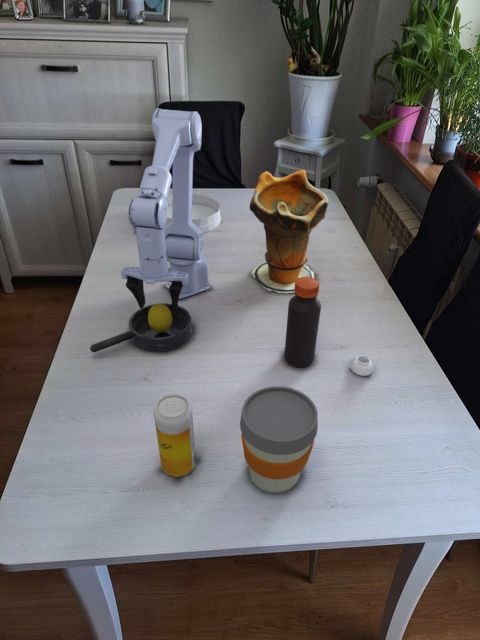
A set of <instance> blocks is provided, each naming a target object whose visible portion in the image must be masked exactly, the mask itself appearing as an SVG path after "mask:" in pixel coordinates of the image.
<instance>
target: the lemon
mask: <svg viewBox="0 0 480 640" xmlns="http://www.w3.org/2000/svg"><path fill="white" fill-rule="evenodd" d="M155 304H156V305H154V306H152V307H151V308H150V310H149V313H148V322H149V325H150V327H151V328H152V329H153V330H154V331H156V332H159V333H163V332H165V331H167V330H168V329H169V328H170V327H171V324H172V314H171V312H170V310H169V308H168V307H167V306H165V305H163V304H159V303H155Z"/></svg>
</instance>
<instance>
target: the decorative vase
mask: <svg viewBox="0 0 480 640" xmlns="http://www.w3.org/2000/svg"><path fill="white" fill-rule="evenodd" d="M253 191H254V192H253V196H252V197H251V200H250V202H249V210H250V211H251V212H252V214H253V215H254V216H255V218H256V219H257V220H258V221H259V222H260V223H261V224H263V230H264V234H265V246H266V247H265V248H266V252H265V253H264V258H265V261H264V262H261V263H259V264H258V265H256V266H255V268H254V269H252V272H251V275H252V276H253V278H254V279H257V282H258V283H259V284H260V285H261V286H262V288H263V289H266V290H267V291H268V292H271V291H273V292H276V293H277V294H290V293H291V294H293V293H295V291H294V290H295V281H296V280H297V279H298V278H301V277H312V278H314V279H315V273H314V272H313V270H311V267H310V266H307V265H306V263H307V262H309V261H308V258H307V257H306V255H307V250H308V246H309V242H310V235H311V233H312V231H313V230H314V229H315V228H316V227H318V225H319V224H320V223H321V222H322V220H324V219H325V218H326V214H327V209H328V206H329V201H330V199H329V198H328V196H327V195H326V194H325V193H324V192H323V191H321V190H320V189H318V188H317V187H315V186H313V185H312V184H311V183H310V182H309V181H308V179H307V171H306V170H305V169H299V170H296V171H295V172H293V173H291V174H288V175H286V176H283V177H275V176H273V175H272V173H270V172H269V171H264V172H262V173H260V175H259V176H258V181H257V185H256V187H255V189H254V190H253Z"/></svg>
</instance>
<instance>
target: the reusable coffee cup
mask: <svg viewBox="0 0 480 640" xmlns="http://www.w3.org/2000/svg"><path fill="white" fill-rule="evenodd" d="M318 412H319V411H318V410H317V406H316V404H315V403H314V401H313V400H312V399H311V398H310V397H309V396H307V394H305V393H304V392H302V391H301V390H298V389H295V388H292V387H288V386H283V385H282V386H279V385H273V386H266V387H263V388H260V389H258V390H256V391H254V392H253V393H251V394H250V395H249V396H248V397H247V398H246V399H245V400H244V403H243V405H242V409H241V413H240V421H239V427H240V428H239V429H240V431H241V432H240V433H241V435H240V436H241V444H242V450H243V456H244V459H245V462H246V464H247V465H248V471H249V476H250V479H251V481H252V483H254V485H256V487H258V488H259V489H261V490H263V491H265V492H269V493H284V492H286V491H289V490H290V489H292V488H293V487H294V486H295V485H296V484H297V483H298V482H299V479H300V476H301V473H302V471H303V470H304V469H305V468H306V466H307V464H308V462H309V459H310V456H311V453H312V450H313V448H314V443H315V439H316V437H317V434H318V429H319V428H318V427H319V424H318V423H319V422H318V421H319V420H318V419H319V417H318Z"/></svg>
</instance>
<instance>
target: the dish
mask: <svg viewBox="0 0 480 640" xmlns="http://www.w3.org/2000/svg"><path fill="white" fill-rule="evenodd" d="M167 203H168V208H167V220H166V224H165V226H164V228H165V227H166V226H167V225H169V224H170V223H171V222H172V195H168V197H167ZM192 222H193V223H194V224H195V225H196V226H197V227H198V228H199V229H200V230H201V231H202V234H206V233H209V232H211V231H213V230H215V229H216V228H218V226H220V224H221V207H220V204H219V202H218V201H217V200H215V199H214V198H212V197H210V196H207V195H203V194H194V193H192ZM179 235H181V234H179Z"/></svg>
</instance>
